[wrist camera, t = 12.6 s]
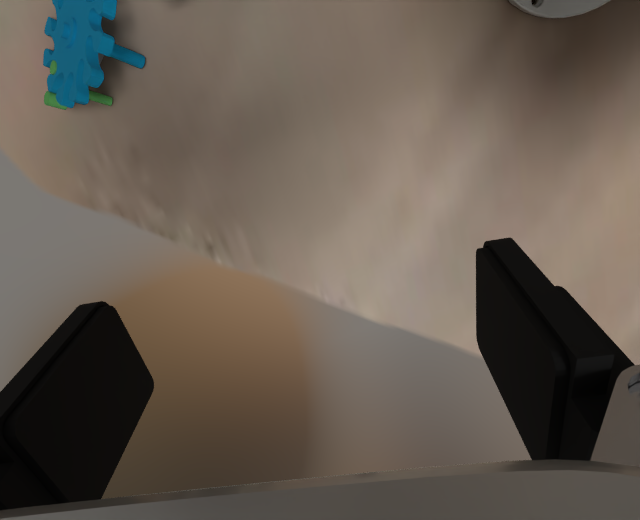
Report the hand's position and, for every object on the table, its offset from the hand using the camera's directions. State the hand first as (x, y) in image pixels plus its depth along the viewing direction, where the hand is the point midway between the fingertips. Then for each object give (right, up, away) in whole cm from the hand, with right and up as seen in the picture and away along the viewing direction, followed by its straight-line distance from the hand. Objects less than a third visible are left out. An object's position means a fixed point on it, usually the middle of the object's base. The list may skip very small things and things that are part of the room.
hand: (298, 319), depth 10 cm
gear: (-17, +19, +22) cm, 34 cm away
